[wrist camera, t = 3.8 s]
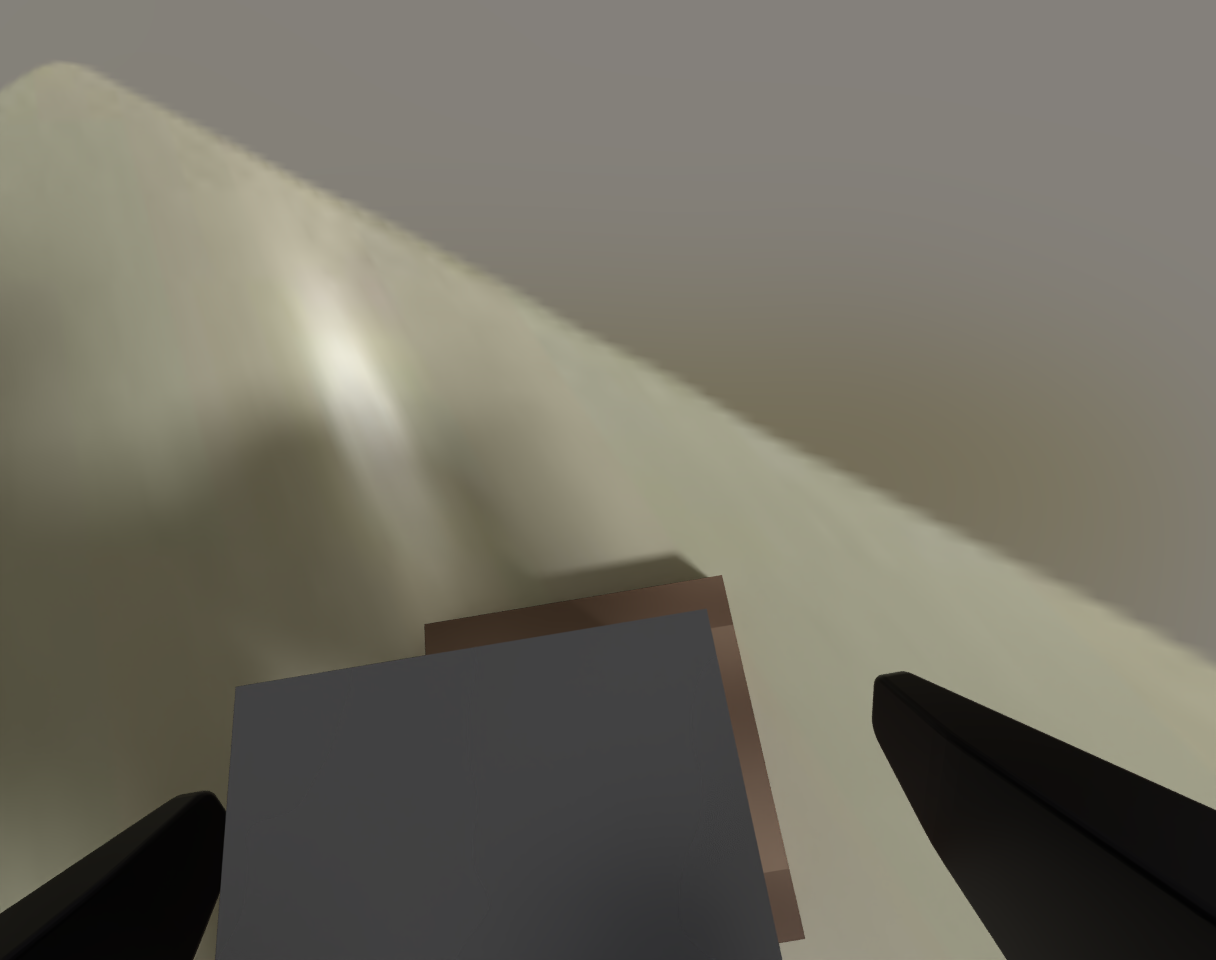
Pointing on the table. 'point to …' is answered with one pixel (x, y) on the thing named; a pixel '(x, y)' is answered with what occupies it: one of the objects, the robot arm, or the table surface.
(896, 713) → the robot arm
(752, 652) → the table surface
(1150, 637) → the table surface
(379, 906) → the grey tall block
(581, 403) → the table surface
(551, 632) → the socket
